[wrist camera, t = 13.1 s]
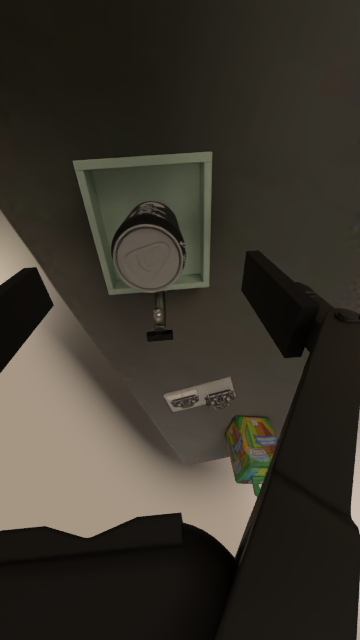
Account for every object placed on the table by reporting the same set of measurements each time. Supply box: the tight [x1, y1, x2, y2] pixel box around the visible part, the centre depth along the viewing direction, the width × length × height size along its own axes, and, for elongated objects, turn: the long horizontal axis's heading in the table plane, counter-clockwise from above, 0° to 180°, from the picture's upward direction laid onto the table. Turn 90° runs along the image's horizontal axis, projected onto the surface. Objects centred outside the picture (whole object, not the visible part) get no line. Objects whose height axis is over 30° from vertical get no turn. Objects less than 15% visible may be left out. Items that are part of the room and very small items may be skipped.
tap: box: [147, 290, 173, 342], centre depth 28 cm, size 4×3×12 cm
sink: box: [73, 152, 212, 295], centre depth 27 cm, size 15×14×4 cm
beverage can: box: [111, 201, 187, 293], centre depth 23 cm, size 7×7×12 cm
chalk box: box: [225, 416, 277, 497], centre depth 51 cm, size 9×9×15 cm
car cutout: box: [163, 377, 236, 412], centre depth 47 cm, size 15×7×4 cm, turn 108°
